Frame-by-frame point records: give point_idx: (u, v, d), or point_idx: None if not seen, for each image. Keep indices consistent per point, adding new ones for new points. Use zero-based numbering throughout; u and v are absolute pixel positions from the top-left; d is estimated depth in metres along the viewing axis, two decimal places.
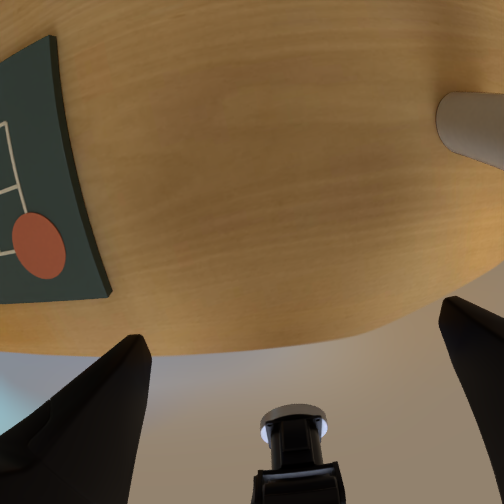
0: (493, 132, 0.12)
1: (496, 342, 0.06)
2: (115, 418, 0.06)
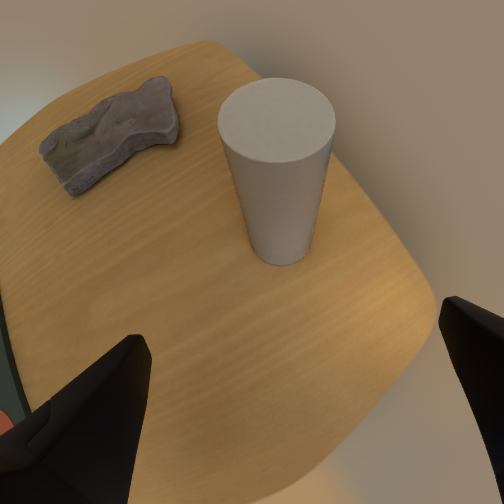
0: (243, 213, 0.18)
1: (496, 342, 0.06)
2: (115, 418, 0.06)
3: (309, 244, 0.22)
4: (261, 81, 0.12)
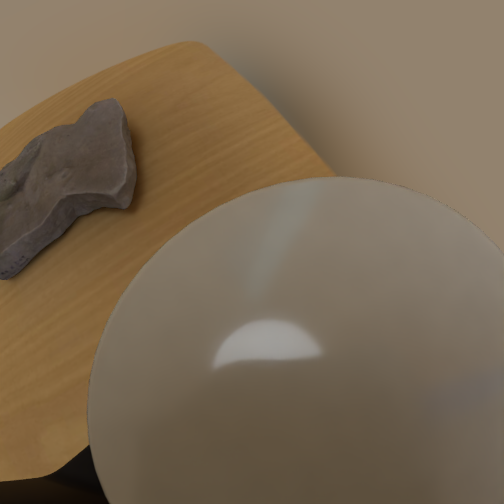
0: None
1: None
2: None
3: None
4: (278, 200, 0.03)
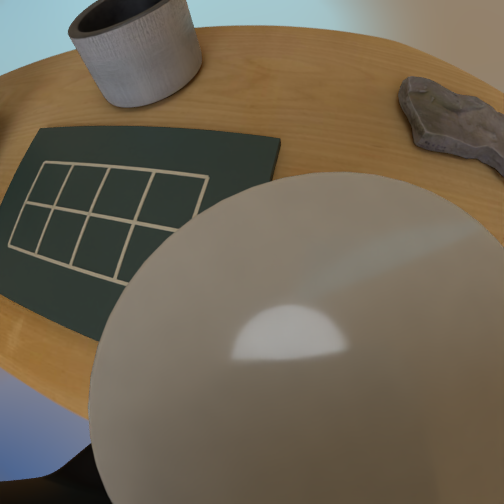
0: None
1: None
2: None
3: None
4: (280, 195, 0.03)
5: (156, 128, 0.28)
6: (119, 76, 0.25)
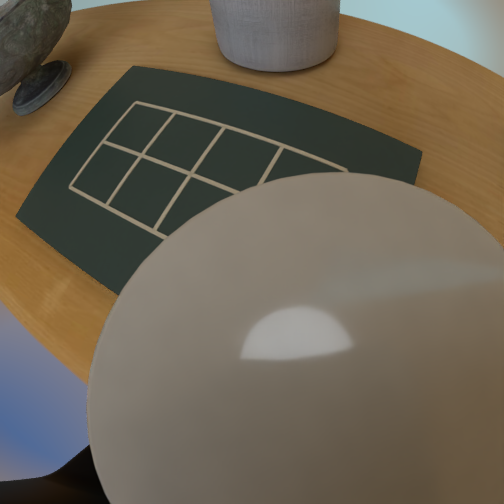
0: None
1: None
2: None
3: None
4: (278, 195, 0.03)
5: (286, 99, 0.24)
6: (255, 30, 0.22)
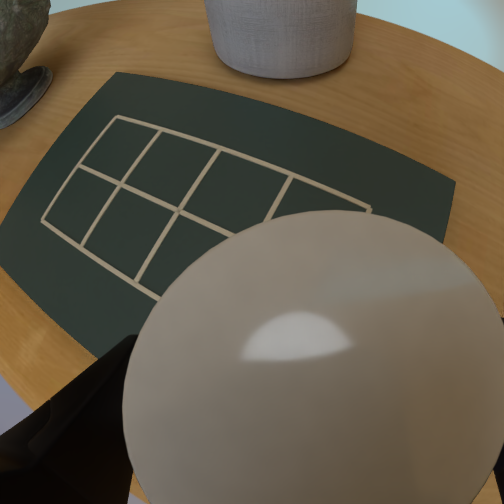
0: None
1: None
2: (115, 418, 0.06)
3: None
4: (281, 231, 0.03)
5: (295, 114, 0.20)
6: (257, 29, 0.18)
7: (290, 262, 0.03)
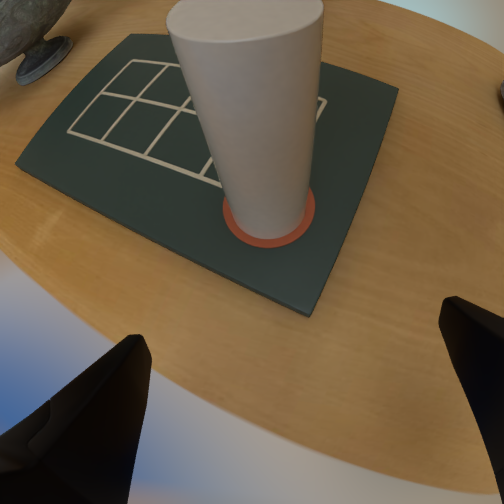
0: (213, 160, 0.13)
1: (496, 342, 0.06)
2: (115, 418, 0.06)
3: (303, 210, 0.17)
4: None
5: None
6: None
7: None
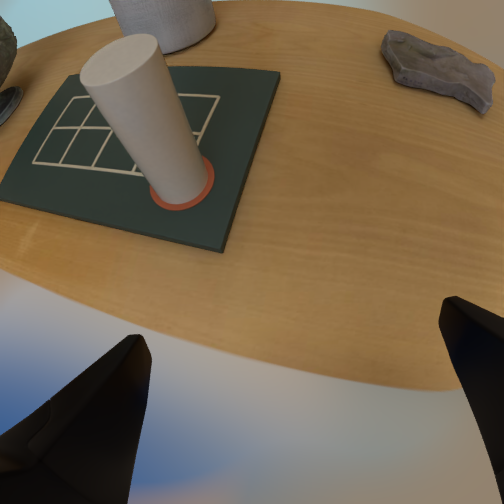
0: (127, 152, 0.19)
1: (496, 342, 0.06)
2: (115, 418, 0.06)
3: (201, 176, 0.24)
4: (111, 43, 0.14)
5: (176, 67, 0.31)
6: (147, 26, 0.29)
7: (111, 45, 0.14)
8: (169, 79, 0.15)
